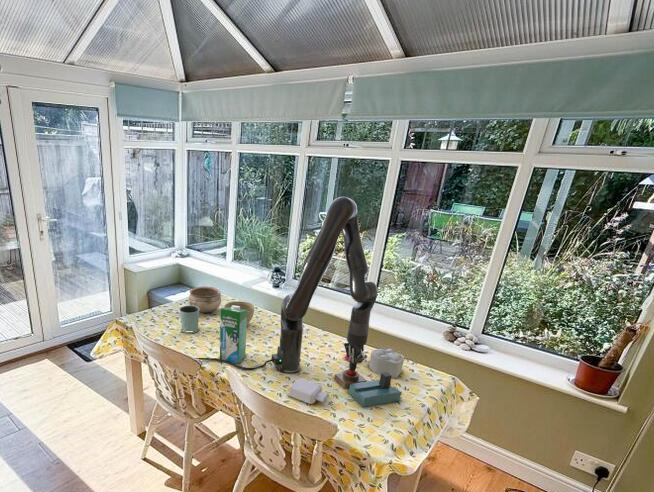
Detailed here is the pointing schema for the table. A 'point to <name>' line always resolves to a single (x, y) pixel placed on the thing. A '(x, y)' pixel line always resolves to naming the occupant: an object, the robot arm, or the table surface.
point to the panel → (349, 379)
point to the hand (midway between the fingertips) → (352, 369)
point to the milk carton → (233, 333)
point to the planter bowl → (245, 306)
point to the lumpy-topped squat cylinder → (386, 362)
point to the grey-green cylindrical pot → (189, 318)
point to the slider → (385, 380)
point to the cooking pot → (205, 298)
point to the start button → (351, 372)
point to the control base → (373, 393)
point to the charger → (307, 391)
